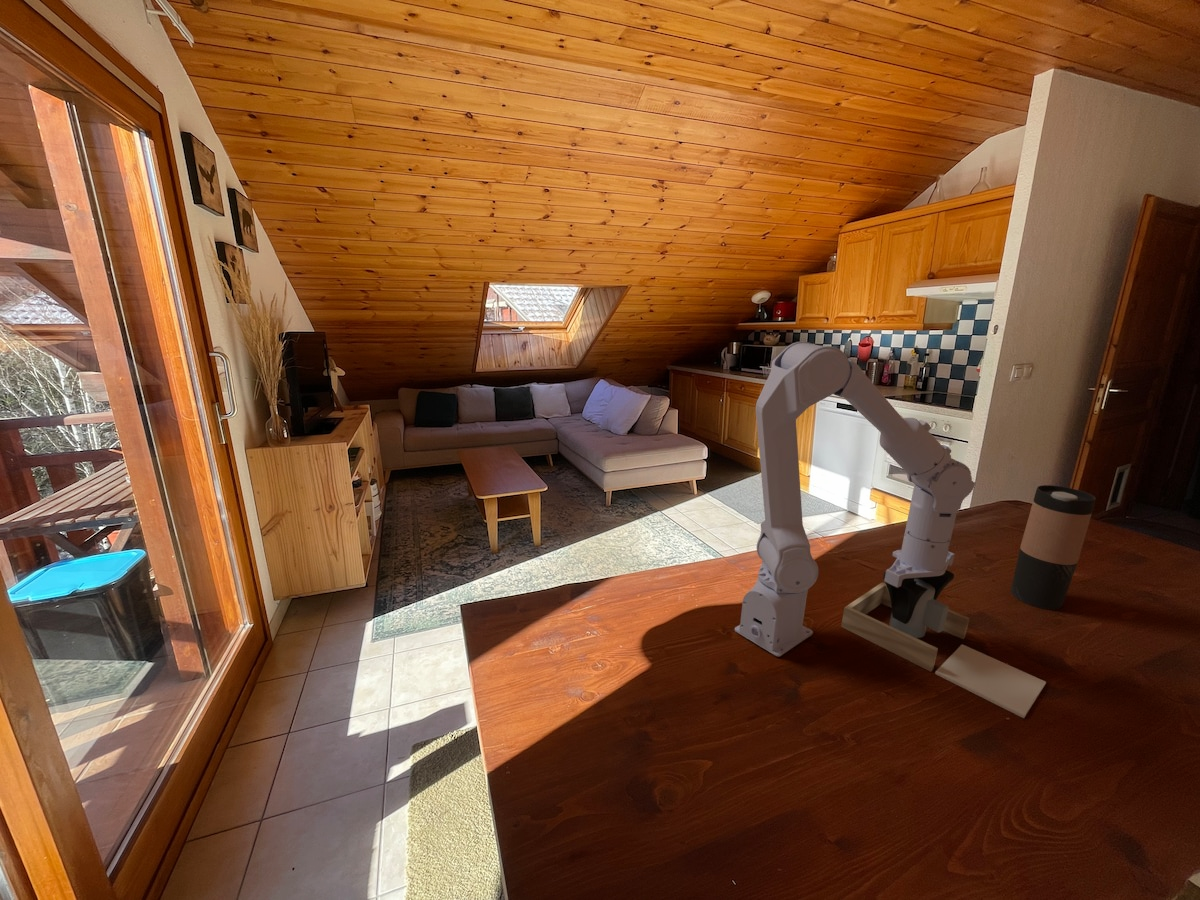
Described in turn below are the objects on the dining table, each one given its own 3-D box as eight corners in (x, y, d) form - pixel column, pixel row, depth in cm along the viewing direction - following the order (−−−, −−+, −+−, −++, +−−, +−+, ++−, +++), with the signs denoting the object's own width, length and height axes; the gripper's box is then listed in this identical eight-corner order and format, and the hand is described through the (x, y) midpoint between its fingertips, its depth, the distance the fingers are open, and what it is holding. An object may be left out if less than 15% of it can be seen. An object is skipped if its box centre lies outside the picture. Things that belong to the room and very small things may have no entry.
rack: (931, 671, 72) (936, 650, 71) (841, 626, 82) (844, 607, 81) (964, 637, 80) (969, 617, 79) (878, 600, 90) (882, 582, 89)
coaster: (1023, 718, 64) (1024, 715, 64) (935, 673, 72) (935, 671, 71) (1045, 684, 70) (1046, 681, 70) (961, 646, 78) (961, 644, 77)
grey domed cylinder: (882, 623, 81) (891, 581, 79) (902, 616, 83) (911, 574, 81) (926, 650, 75) (937, 605, 73) (947, 642, 77) (958, 598, 75)
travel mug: (1043, 588, 94) (1072, 486, 89) (1075, 612, 87) (1110, 502, 82) (998, 585, 95) (1025, 483, 90) (1027, 609, 88) (1058, 499, 82)
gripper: (927, 516, 82) (911, 591, 86) (871, 533, 75) (857, 614, 79) (975, 532, 76) (956, 612, 80) (920, 553, 70) (902, 639, 73)
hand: (910, 615), depth 79 cm, fingers closed on grey domed cylinder, 5 cm apart
